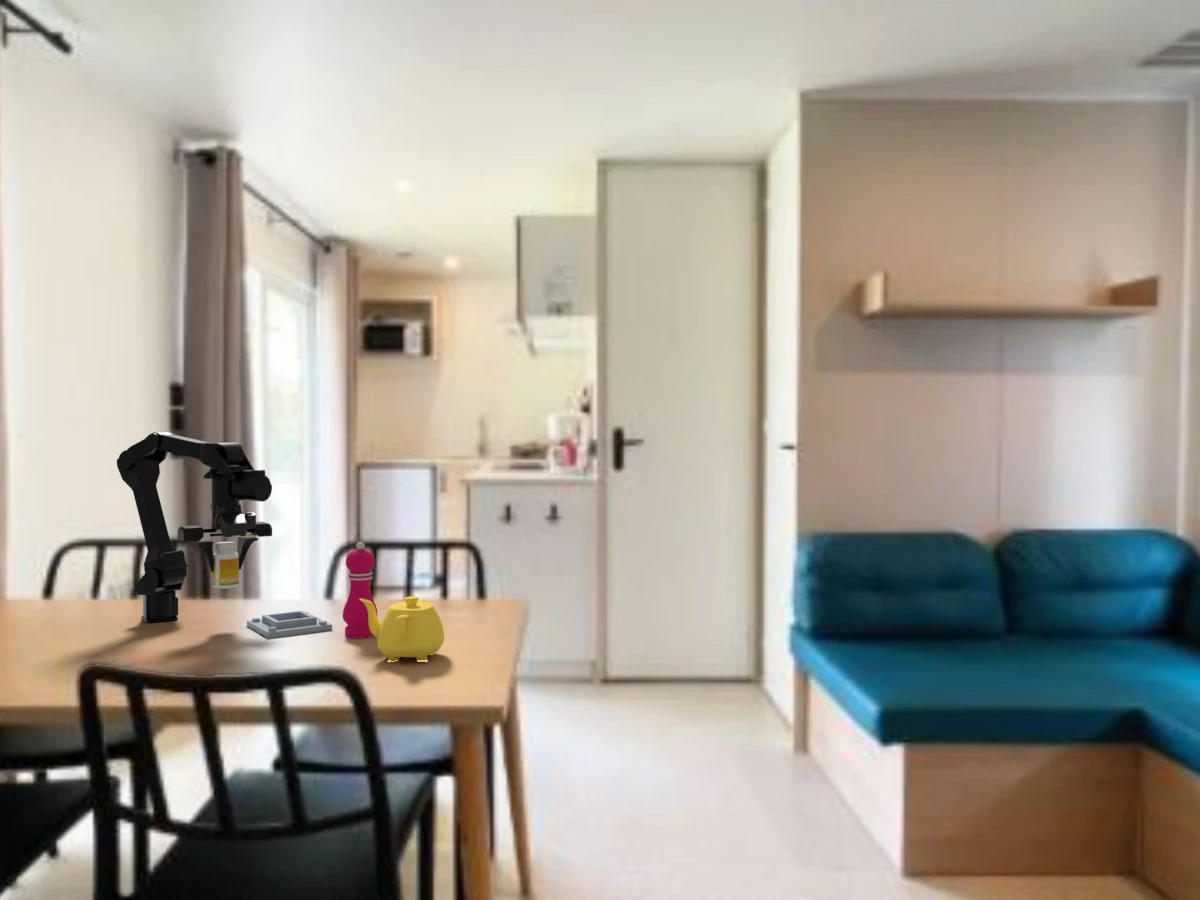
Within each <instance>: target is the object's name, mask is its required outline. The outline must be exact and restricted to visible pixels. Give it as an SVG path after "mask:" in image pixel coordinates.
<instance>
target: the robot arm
mask: <svg viewBox="0 0 1200 900" xmlns="http://www.w3.org/2000/svg"><path fill="white" fill-rule="evenodd" d="M168 453H170V454H174V455H175V454H176V455H180V456H183V457H187V458H192V459H196V460H198V461H200V462H201V464H203V465H204V466H206V467H208V468H210V469H209V470H208V472H206V473H205V474H203V479H206V480H207V479H208V480H211V503H210V509H211V522H210V528H207V527H206V528H203V526H200V525H181V526H179V527H178V529H177V539H178V541H179V540H180V541H182V542H185V543H186V542H192V543H194V544H196V545H198V547H199V549H200V550H201V552H202V553H203V554H202V555H203V556H204V559H205V560H206V563H207V566H208V568H209V571H210V572H211V573H213V572H214V559H213V554H214V552H213V549H214V548H213V547H214V546H213V545H214V541H212V540H211V537H226V538H231V537H237V539H236V540H237V541H236V543H237V545H236V546H237V548H236V552H237V553H238V554H239V570H241V569H242V567H243V564H244V562H245V558H246V556H247V553H248V550H249V549H250V547H251V545H252V544H253V543H254V542H257V541H258V540H259V538H262V537H272V536H273V526H272V524H270V523H269V522H265V521H257V515H256V513H255V512H254V511H253V512H245V513H243V512H242V505H241V504H240V501H245V502H248V501H249V502H266V501H267V500H269V498H270V497H271V496H272V495H271V494H272V492H273V485H272V483H271V479H270V478H269V477H268V476H266V470H264V469H257V470H256V469H254V467H253V466H252V463H251V462H250V460H249V459H248V457H247V456H246V454H245V451H244V449H243V446H242V445H241V444H240V443H238V442H207V441H203V440H199V439H196V438H195V439H194V438H191V437H186V436H182V435H177V434H173V433H171V432H168V431H167V432H166V431H165V432H163V431H162V432H161V431H159V432H152V433H150V434H148V435H147V436H146V437H145V438H144V439H142V440H140V441H138V442H137V443H135V444H132V445H130V446H129V447H127V449H126V450H122V451H121V453H120V454H119V455H118V458H117V459H116V466H117V469H118V472H119V474H120V475H119V476H120V477H121V479H122V481H123V482H124V483H126V485H127V486H128V487H129V488H130V489H131V490H132V492H133V497H134V501H135V505H136V510H137V514H138V516H139V520H140V526H141V529H142V532H143V537H144V541H145V546H146V548H147V549H146V550H147V553H146V555H145V560H144V562H143V570H144V573H143V575H142V576H141V578H139V580H138V581H137V582H136V583H135V585H134V588H135V592H136V595H138V596H139V595H140V596H142V609H143V610H142V615H141V617H140V618H141V619H142V620H143V621H144V622H145V623H156V622H167V621H173V620H179V617H178V616H179V597H177V595H176V594H177V593H176V592H177V591H181V590H182V588H183V585H184V583H185V579H186V577H187V575H188V570H187V568H189V565H188V563H187V562H186V557H185V552H184V551H183V549H181V550H177V549H176V548H175V547H174V546H173V545H172V542H171V539H170V536H169V531H168V527H167V523H166V520H165V515H164V511H163V508H162V507H163V506H162V504H161V501H160V499H161V498H160V496H159V492H158V488H157V487H158V486H157V484H158V480H159V478H160V474H161V470H160V469H161V468H160V465H161V464H162V463H163V462H164V461H165V460H166V459H167V457H168Z"/></svg>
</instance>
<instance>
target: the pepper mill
mask: <svg viewBox="0 0 1200 900" xmlns="http://www.w3.org/2000/svg"><path fill="white" fill-rule="evenodd" d="M355 547H356V549H353V550H351V551H350V552H349V553H348V554H347V556H346V558H345V565H346V568H347V569H348V570H349V572H348V573H347V574H348V577H347V579H348V580H349V583H350V585H349V586H350V587H349V593H348V597H347V600H346V602H345V604H344V607H343V610H342V619H343V621H344V623H346V625H347V626H345V627H344V636H345V637H346V638H349V639H364V638H363V637H367V638H370V637H369V636H371V637H373V636H372V635H373V634H372V632H371V631H370V628H369V621H368V610H367V607H366V605H365V604H364V603H363V602H362V601H361V600H360V599H366V600H369V601H371V602H372V603H373V604H374V606H375V609H376V615H377V616H378V609H377V604H376V602H375V600H374V598H373V595H372V591H371V580H372V579H373V571H372V569H373V568H374V567H375V562H376V560H375V556H374V554H373V552H371V551H370V550H368V549H365V543H364V542H363V541H359V542H357V543H356V545H355Z"/></svg>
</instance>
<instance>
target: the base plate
mask: <svg viewBox="0 0 1200 900" xmlns="http://www.w3.org/2000/svg"><path fill="white" fill-rule="evenodd" d="M246 627H248V628H249V627H250V629H251V630H253V631H254V630H255V631H254V632H256V633H258V634H260V635H262V636H264V637H265V638H266V639H273V638H279V637H287V636H288V637H289V636H296V635H303V634H311V633H312V634H313V633H319V632H327V631H333V624H332V623H330V622H328V621H327V620H324V619H321V618H320V617H317V616H315V615H313V614H311V613H309V612H308V611H304V610H294V611H286V612H278V613H269V614H268V613H267V614H262V615H261V618H260V617H253V618H251V619H249V620H246Z"/></svg>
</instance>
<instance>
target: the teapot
mask: <svg viewBox="0 0 1200 900" xmlns="http://www.w3.org/2000/svg"><path fill="white" fill-rule="evenodd" d="M360 600H361V601H362V602H363V603H364V604H365V605H366V607H367V610H368V621H369V628H370V631H371V632H372V634H373V635H374V636H373V637H375V638H377V646H378V649H379V650H380V652H381V653H382V654H384V655H385V656H387V657H388V658H387V659H388V660H391V661H395V660H399V661H400V659H401V658H415V661H416V660H426V659H427V658H428V655H431V654H434V653H435V654H436V653H437V652H438V651H439V650H440V649H441V647H442V645H443V644H444V642H445V632H444V626H443V623H442V620H441V618H440V615H439V613H438V611H437V609H436V607H435V605H434V604H433V603H432V602H427V601H425V600H424V599H419V597H418V596H407V597H404V601H399V602H397V603H392V604H391V605H390V606H389V607H388V609H387V611H386V612H385V614H384V616H383V619H382V621H380V620H379V618H378V614H377V615H376V609H375V606H374V604H373V603H372V602H371V601H369V600H366V599H360ZM431 656H432V655H431Z"/></svg>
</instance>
